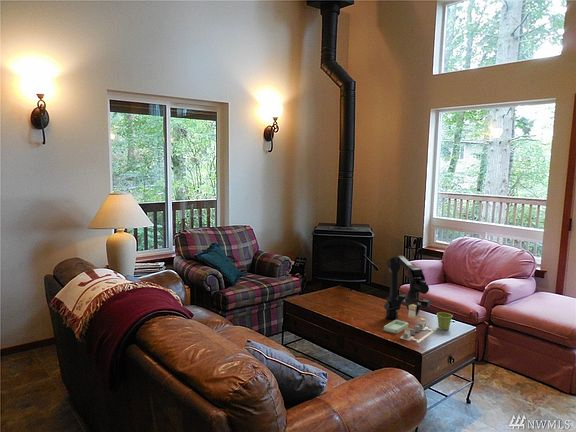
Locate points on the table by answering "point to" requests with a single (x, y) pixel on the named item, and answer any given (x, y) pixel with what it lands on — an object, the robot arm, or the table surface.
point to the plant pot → (444, 320)
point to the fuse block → (417, 328)
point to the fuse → (412, 311)
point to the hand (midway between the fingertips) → (413, 314)
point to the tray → (395, 326)
